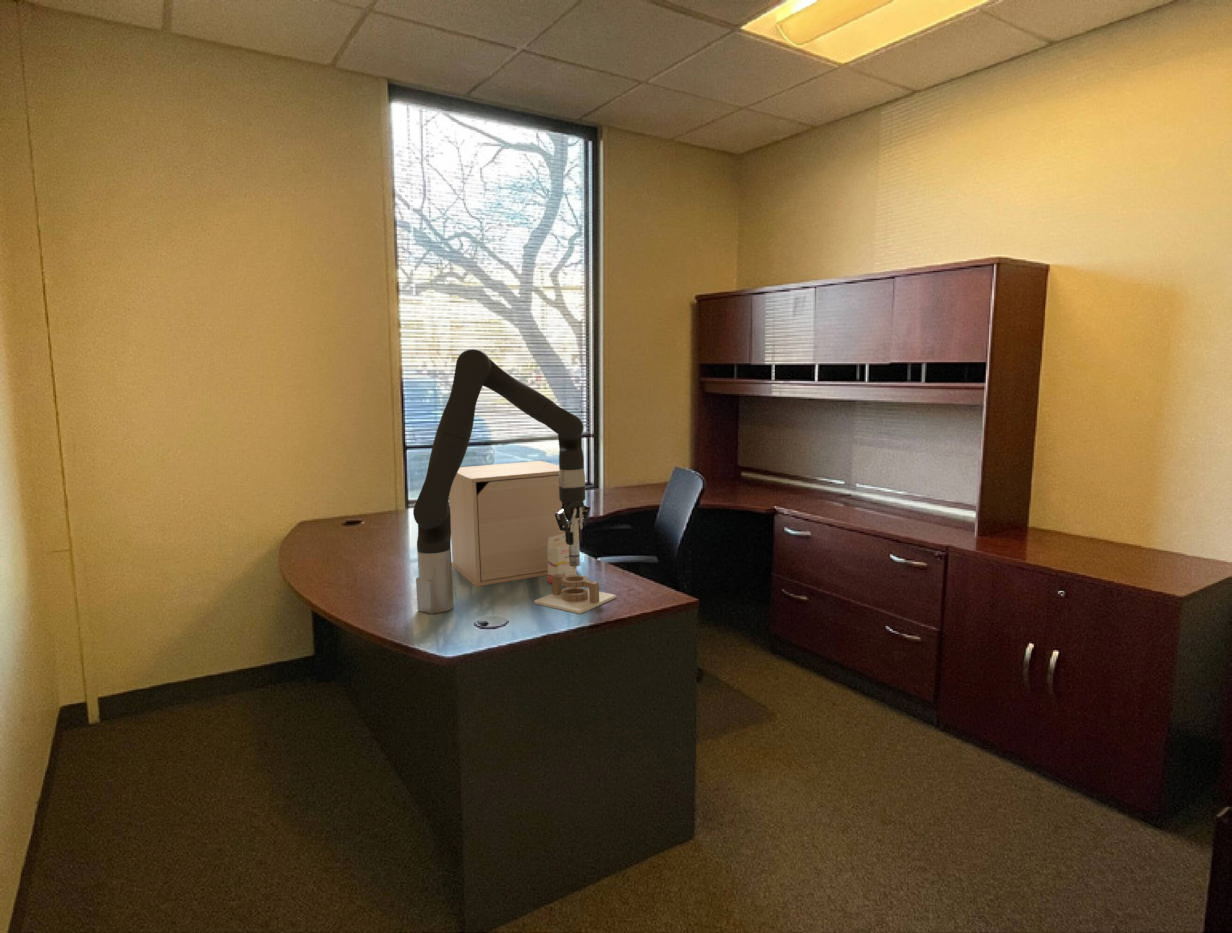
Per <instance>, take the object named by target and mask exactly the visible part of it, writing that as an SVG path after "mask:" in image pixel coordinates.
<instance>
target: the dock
mask: <svg viewBox="0 0 1232 933" xmlns="http://www.w3.org/2000/svg"><path fill="white" fill-rule="evenodd" d="M551 587H552V589H551V590H552V592H551V593H550V594H547V595H545V596H543V597H539V598H536V599H535V600H533V601H534V602H533V603H534V604H536V605H540V606H544V607H549V608H554V609H558V610H562V611H565V612H569V613H573V614H578V615H581V614H583V613H585V612H587V611H589V610H591V609H594V608H597V607H598V606H600V605H603V604H605V603H607V602H610V601H612V600H614V599H617V594H613V593H607V592H604V591H600V583H599V581H594V580H593V581H592V580H589V577H587V576H586V575H582V574H580V575H577V574H576V575H572V576H563V575H559V574H555V575H552V583H551ZM563 587H565V588H563Z"/></svg>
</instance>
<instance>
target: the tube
mask: <svg viewBox="0 0 1232 933" xmlns="http://www.w3.org/2000/svg"><path fill="white" fill-rule="evenodd" d="M568 521H571V520H568ZM568 527H569V524H568ZM573 539H574V544H573V545H569V564H570V566H572V567H579V566H581V560H580V559H581V558H580V556H581V554H580V542H579V519H578V518H575V524H574V525H573Z"/></svg>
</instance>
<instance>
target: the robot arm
mask: <svg viewBox="0 0 1232 933" xmlns="http://www.w3.org/2000/svg"><path fill="white" fill-rule="evenodd" d="M453 375H454V376H453V381H452V386H451V390H450V394H449V397H448V400H447V402H446V404H445V407H444V409H443V412H442V415H441V417H440V420H439V424H438V426H437V430H436V432H435V436H434V440H433V443H432V447H431V453H430V456H429V461H428V467H427V472H426V476H425V479H424V482H423V485H422V487H421V489H420V492H419V494H418V498H417V500H416V501H415V503H414V505H413V513H412V514H413V518H414V521H415V523H416V524H417V541H416V552H417V568H418V570H417V571H418V577H416V578H415V586H416V600H417V601H416V602H417V604H416V605H417V611H418V612H423V613H426V614H430V615H434V614H440V613H445V612H448V611H451V610H453V608H454V607H455V606H454V604H455V603H454V602H455V601H454V588H453V587H454V586H453V584H454V583H453V566H452V563H451V562H452V542H451V517H450V504H449V494H450V490H451V486H452V483H453V481H454V478H455V476H456V474H457V472H458V470H459V468H460V467H461V465H462V463H463V461H464V458H465V456H466V453H467V450H468V448H469V443H470V440H471V436H472V434H473V433H472V432H473V427H474V421H475V413H476V406H477V402H478V399H479V396H480V393H481V391H482V388H483V387H485V388H486V389H489V390H491V391H493V392H495V393H496V394H498V395H500V396H501V397H502V398H504V399H505V400H506V401H508V402H509V403H510V404H511V405H513V406H514V407H516V408H517V409H518V410H520V411H521V412H523V413H524V414H526V415H527V416H529V417H530V418H532V419H534V420H535V421H537V422H538V423H541V424H544V426H546V427H548V428H549V429H550V430H551V431H553V432H554V433H556V434H557V439H558V448H559V451H558V465H559V500H560V501H561V502H562V507H561V511H560V512H559V513H555V518H556V520H557V523H558V526H559V529H560V530H561V531H565V536H566V544H568V545H573V544H574V539H573V525H574V524H575V518H578V519H579V543H581V542H582V538H583V537H582V535H583V534H582V532H583V531H582V530H583V527H586V526H587V524H588V519H589V516H590V512H591V506H590V505H585V502H584V501H585V500H586V474H585V468H584V467H585V466H584V460H585V459H584V458H585V457H584V450H583V449H582V446H583V444H582V441H583V438H582V436H583V433H584V424H583V421H582V420H581V418H579V417H578V416H577V415H575V414H573V413H571V412H569V411H568V410H566V409H564V408H562V407H561V406H560V405H558V404H556V402H554V401H553V400H551V399H550V398H549V397H547V396H545V395H544V394H542V393H541V392H539V391H538V390H536V389H534V388H532V387H531V386H529V385H527V384H526V383H524V382H521V381H520V380H518V379H516V378H515V377H514V376H512V375H510V374H508V373H507V372H506V371H505V370H503V369H502V368H501V367H499V366H498V365H497V364H496V363H495V362H494V361H493V360H492V359H490V358H489V356H488V355H487V353H486V352H485V351H482V350H481V349H477V348H469V349H466V350H464V351H462V352H461V353H460V354H459V356H458V357H457V359H456V361H455V369H454V374H453ZM568 520H571V521H568ZM568 524H569V527H568Z"/></svg>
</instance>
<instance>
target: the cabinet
mask: <svg viewBox="0 0 1232 933" xmlns="http://www.w3.org/2000/svg"><path fill="white" fill-rule="evenodd" d="M448 502H449V505H450V517H451V564H452V568H454V569H455V570H457V572H458V573H460V574H461V575H462V576H463V577H464V578H466V580H468V581H469V582H470V583H471V584H472V585H473V586H474V587H480V586H487V585H493V584H499V583H506V582H512V581H518V580H524V579H531V578H537V577H542V576H543V577H544V576H548V554H547V547H548V538H549V537H553V536H557V535H561V534H565V531H561V530H560V529H559V526H558V523H557V520H556V518H555V513H559V512H560V511H561V507H562V502H561V501H560V500H559V464H554V463H550V462H547V461H544V460H533V461H523V462H520V461H519V462H509V463H508V462H507V463H497V464H486V465H484V464H483V465H474V466H462V467H461V466H460V468H459V470H458V472H457V474H456V476H455V478H454V481H453V483H452V486H451V490H450V494H449V499H448ZM558 540H560V538H559V539H558V538H556V539H555V540H554V541H558ZM565 542H566V540H565ZM577 568H578V566H576V571H577Z"/></svg>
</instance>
